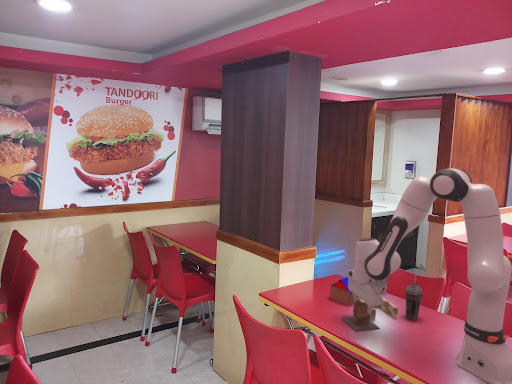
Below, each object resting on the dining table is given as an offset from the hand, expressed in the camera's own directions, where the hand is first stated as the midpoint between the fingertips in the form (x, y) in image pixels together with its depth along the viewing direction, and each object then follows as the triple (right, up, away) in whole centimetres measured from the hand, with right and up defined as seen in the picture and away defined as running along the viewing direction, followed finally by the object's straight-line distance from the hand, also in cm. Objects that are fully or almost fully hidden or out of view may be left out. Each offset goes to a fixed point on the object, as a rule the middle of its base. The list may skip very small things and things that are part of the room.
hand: (362, 308), depth 174 cm
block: (-1, -6, +1) cm, 6 cm away
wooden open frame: (+9, -6, +13) cm, 17 cm away
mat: (-1, -7, +1) cm, 7 cm away
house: (+2, -4, +31) cm, 31 cm away
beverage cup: (+24, -7, +9) cm, 27 cm away
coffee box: (+17, -3, +40) cm, 44 cm away
